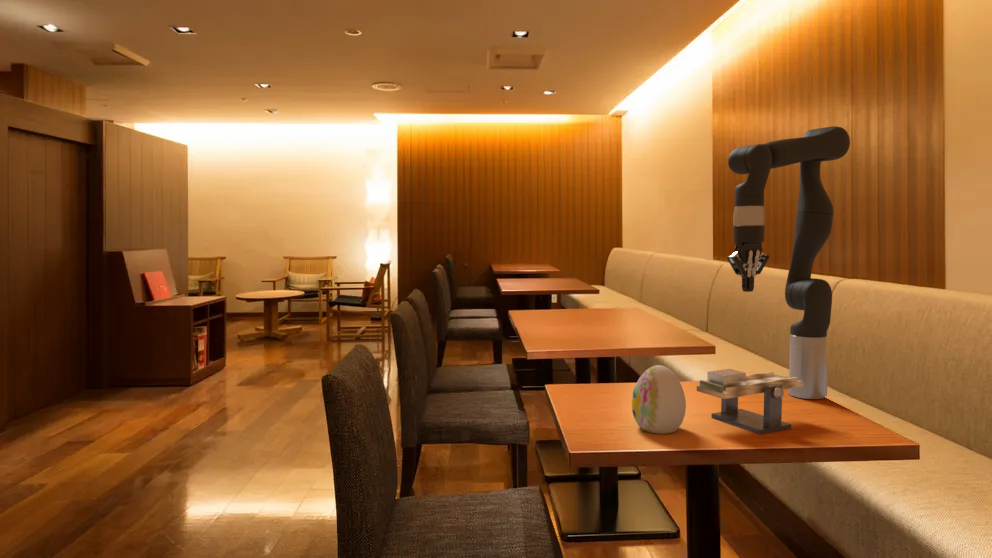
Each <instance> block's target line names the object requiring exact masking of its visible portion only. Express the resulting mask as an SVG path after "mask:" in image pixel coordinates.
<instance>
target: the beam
mask: <svg viewBox="0 0 992 558" xmlns="http://www.w3.org/2000/svg"><path fill="white" fill-rule="evenodd" d="M772 384H779V385H782V389H783V390H789V388H795V387H801V386H804V381H801V380H798V377H793V378H789V377H787V376H783V375H779V374H775V372H774V371H767V372H759V373H753V374H746V385H741V386H734V387H728V388H726V391H723V386H721V385H718V384H714V383H711V382H707V380H704V379H703V380H699V385H696V392H700V393H702V394H707V395H709V396H711V397H716V398H719V399H721V398H722V399H728V398H734V397H738V398H739V397H745V396H752V395H759V394H764V386H765V385H772Z"/></svg>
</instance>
